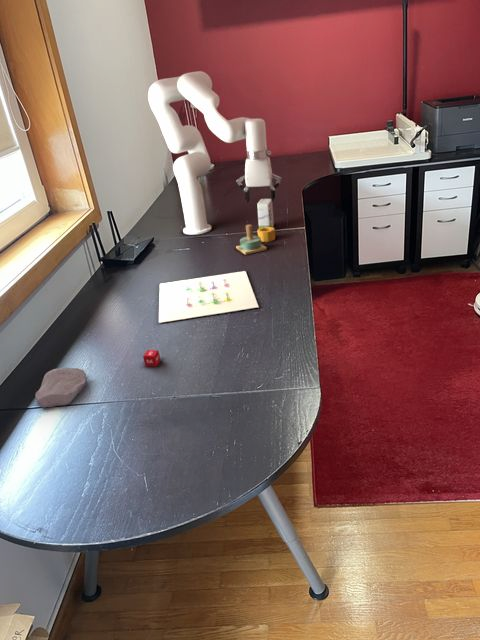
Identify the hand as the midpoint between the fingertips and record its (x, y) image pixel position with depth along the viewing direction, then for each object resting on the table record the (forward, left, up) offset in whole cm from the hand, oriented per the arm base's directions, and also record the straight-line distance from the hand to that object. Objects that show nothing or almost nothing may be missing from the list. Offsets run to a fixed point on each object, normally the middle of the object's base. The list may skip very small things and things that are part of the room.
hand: (260, 200), depth 198 cm
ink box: (-11, +7, -16) cm, 20 cm away
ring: (+1, +1, -15) cm, 15 cm away
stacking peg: (+8, -9, -15) cm, 20 cm away
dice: (+69, -65, -16) cm, 96 cm away
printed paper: (+38, -39, -16) cm, 57 cm away
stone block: (+70, -87, -16) cm, 113 cm away
